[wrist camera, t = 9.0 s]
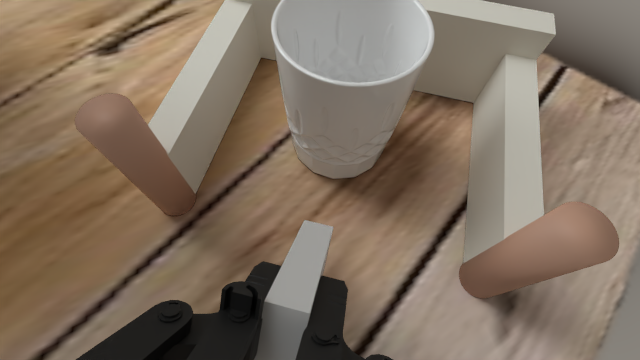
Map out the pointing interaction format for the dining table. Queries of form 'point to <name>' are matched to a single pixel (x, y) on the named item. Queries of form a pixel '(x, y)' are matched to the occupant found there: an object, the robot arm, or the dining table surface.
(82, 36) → the dining table surface
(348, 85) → the white cup
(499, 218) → the frame
